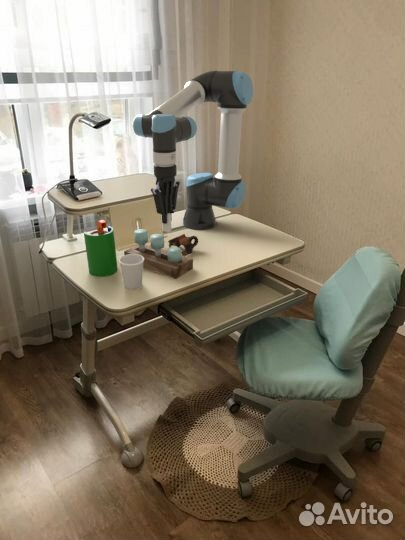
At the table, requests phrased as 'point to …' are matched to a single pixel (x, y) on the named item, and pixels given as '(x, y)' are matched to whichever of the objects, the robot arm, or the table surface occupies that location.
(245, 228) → the table surface
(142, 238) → the knob
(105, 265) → the green pen holder
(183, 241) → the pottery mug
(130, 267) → the dixie cup
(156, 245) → the knob
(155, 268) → the mount
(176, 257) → the knob
